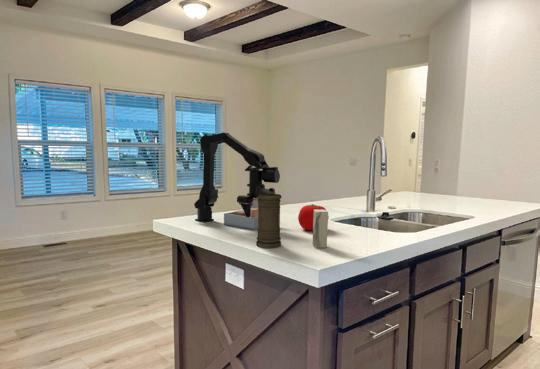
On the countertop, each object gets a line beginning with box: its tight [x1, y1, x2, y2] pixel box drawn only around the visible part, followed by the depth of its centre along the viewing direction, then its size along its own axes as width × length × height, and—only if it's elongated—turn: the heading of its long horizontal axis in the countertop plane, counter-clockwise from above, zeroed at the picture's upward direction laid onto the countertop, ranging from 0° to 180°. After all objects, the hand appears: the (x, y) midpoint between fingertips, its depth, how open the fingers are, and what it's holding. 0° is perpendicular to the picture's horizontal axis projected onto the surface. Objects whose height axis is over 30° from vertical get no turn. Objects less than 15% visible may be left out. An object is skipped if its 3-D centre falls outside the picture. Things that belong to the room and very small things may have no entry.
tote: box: [223, 209, 258, 231], centre depth 169 cm, size 17×13×5 cm
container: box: [255, 193, 282, 249], centre depth 134 cm, size 9×9×18 cm
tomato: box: [297, 203, 330, 232], centre depth 161 cm, size 12×13×11 cm
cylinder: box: [250, 208, 258, 218], centre depth 166 cm, size 5×5×7 cm
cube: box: [233, 209, 247, 217], centre depth 171 cm, size 5×5×5 cm
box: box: [311, 209, 329, 249], centre depth 133 cm, size 5×4×13 cm
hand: (255, 217), depth 166 cm, fingers open, 9 cm apart
